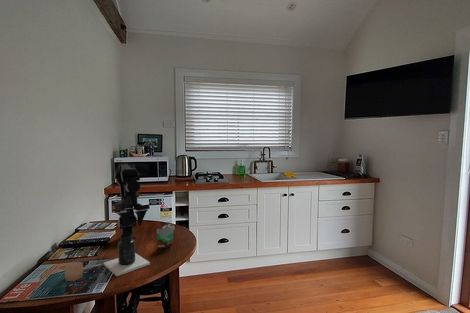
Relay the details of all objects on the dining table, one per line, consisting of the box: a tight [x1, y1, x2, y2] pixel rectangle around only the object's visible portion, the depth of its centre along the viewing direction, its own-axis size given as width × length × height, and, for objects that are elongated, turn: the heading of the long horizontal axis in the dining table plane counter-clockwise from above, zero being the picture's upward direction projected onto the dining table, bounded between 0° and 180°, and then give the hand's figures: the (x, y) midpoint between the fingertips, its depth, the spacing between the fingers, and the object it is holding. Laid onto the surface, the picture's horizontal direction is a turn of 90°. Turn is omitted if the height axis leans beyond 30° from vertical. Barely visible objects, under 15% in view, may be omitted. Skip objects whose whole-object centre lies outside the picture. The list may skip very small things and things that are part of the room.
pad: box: [103, 252, 151, 277], centre depth 116 cm, size 14×14×1 cm
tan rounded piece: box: [64, 261, 84, 282], centre depth 105 cm, size 6×6×5 cm
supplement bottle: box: [117, 233, 136, 265], centre depth 116 cm, size 7×7×12 cm
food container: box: [156, 221, 175, 249], centre depth 137 cm, size 12×6×10 cm, turn 168°
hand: (132, 226), depth 131 cm, fingers open, 9 cm apart
